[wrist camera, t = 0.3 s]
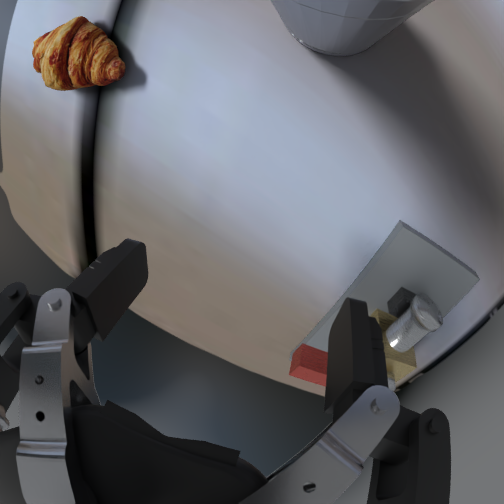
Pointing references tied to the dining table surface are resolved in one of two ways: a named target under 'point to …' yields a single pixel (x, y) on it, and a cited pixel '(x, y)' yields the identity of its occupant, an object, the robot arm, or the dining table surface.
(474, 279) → the slate board
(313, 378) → the lever
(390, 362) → the valve pipe
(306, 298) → the dining table surface
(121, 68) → the croissant
